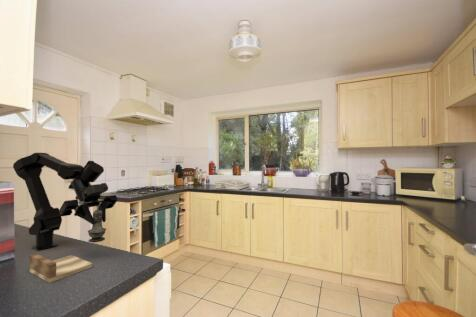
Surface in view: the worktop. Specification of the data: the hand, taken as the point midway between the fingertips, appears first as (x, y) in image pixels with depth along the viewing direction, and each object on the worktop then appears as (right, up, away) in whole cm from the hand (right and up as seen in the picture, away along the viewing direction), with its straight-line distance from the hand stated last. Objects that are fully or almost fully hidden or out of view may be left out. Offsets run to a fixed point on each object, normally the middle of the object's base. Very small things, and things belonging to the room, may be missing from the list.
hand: (99, 222), depth 84 cm
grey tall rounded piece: (-1, -7, +1) cm, 7 cm away
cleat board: (-7, -13, -8) cm, 17 cm away
